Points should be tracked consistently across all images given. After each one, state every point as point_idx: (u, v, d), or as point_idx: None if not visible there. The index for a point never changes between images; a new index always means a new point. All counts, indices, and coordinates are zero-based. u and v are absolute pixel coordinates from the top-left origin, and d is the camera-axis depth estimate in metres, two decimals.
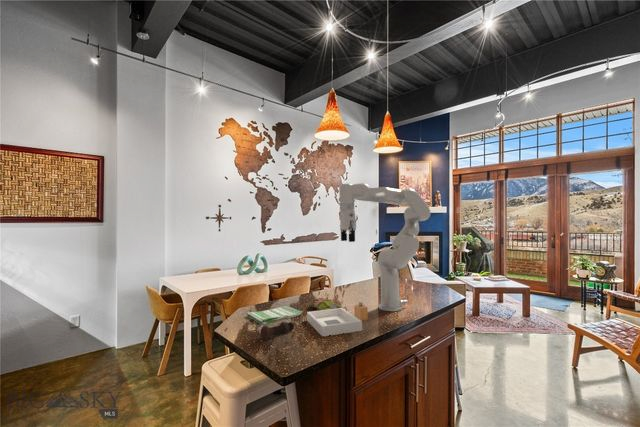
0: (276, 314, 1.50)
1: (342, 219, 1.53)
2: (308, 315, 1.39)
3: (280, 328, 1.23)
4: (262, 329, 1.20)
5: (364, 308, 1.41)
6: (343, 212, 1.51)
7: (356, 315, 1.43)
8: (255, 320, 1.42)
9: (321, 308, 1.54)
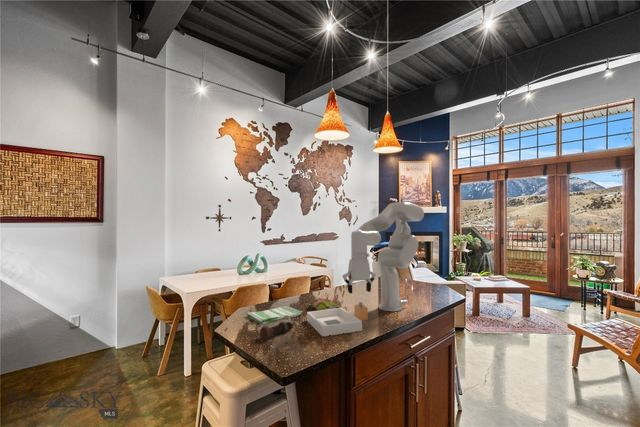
0: (276, 314, 1.50)
1: (360, 269, 1.41)
2: (308, 315, 1.39)
3: (279, 328, 1.24)
4: (262, 329, 1.20)
5: (364, 308, 1.41)
6: (363, 261, 1.42)
7: (356, 315, 1.43)
8: (255, 320, 1.42)
9: (320, 308, 1.53)
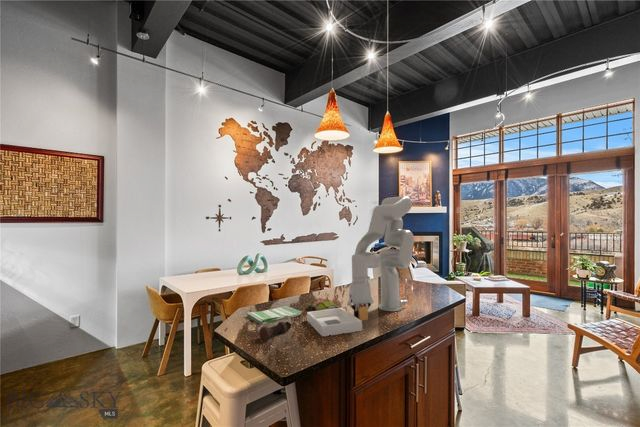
0: (276, 314, 1.50)
1: (361, 293, 1.41)
2: (308, 315, 1.39)
3: (278, 328, 1.24)
4: (261, 330, 1.19)
5: (364, 308, 1.40)
6: (364, 285, 1.42)
7: None
8: (255, 320, 1.42)
9: (319, 308, 1.53)
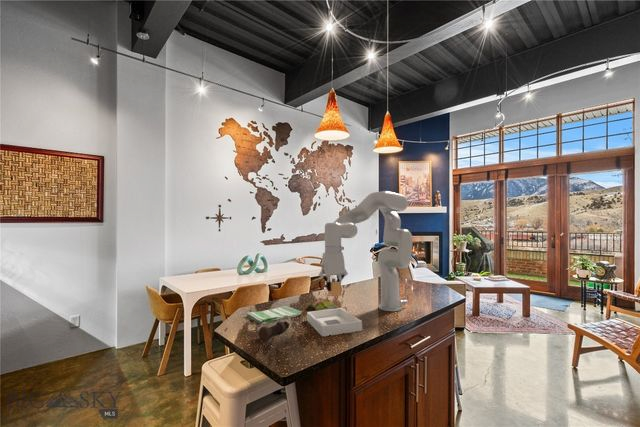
0: (276, 314, 1.50)
1: (334, 263, 1.33)
2: (308, 315, 1.39)
3: (277, 328, 1.24)
4: (261, 330, 1.19)
5: (337, 283, 1.32)
6: (337, 255, 1.34)
7: (329, 292, 1.34)
8: (255, 320, 1.42)
9: (319, 308, 1.53)
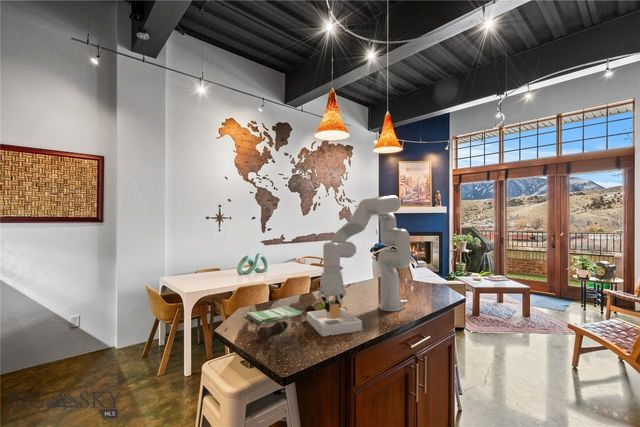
0: (276, 314, 1.50)
1: (332, 283, 1.32)
2: (308, 315, 1.39)
3: (276, 327, 1.24)
4: (260, 330, 1.19)
5: (335, 305, 1.32)
6: (335, 275, 1.33)
7: (328, 315, 1.33)
8: (254, 320, 1.42)
9: (318, 309, 1.53)
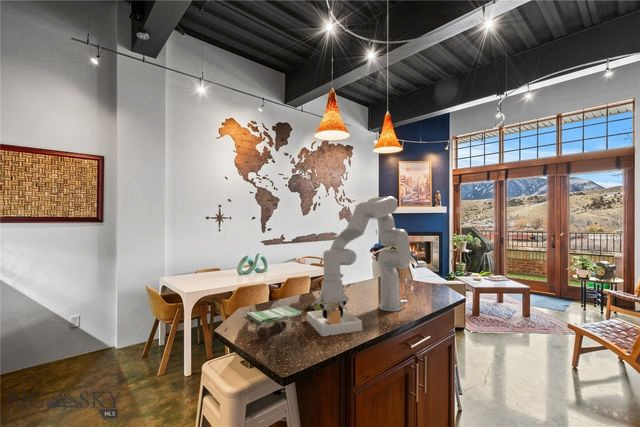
0: (276, 314, 1.50)
1: (333, 291, 1.32)
2: (308, 315, 1.39)
3: (276, 327, 1.24)
4: (260, 330, 1.19)
5: (337, 312, 1.30)
6: (336, 283, 1.33)
7: (329, 320, 1.33)
8: (254, 320, 1.42)
9: (317, 309, 1.53)
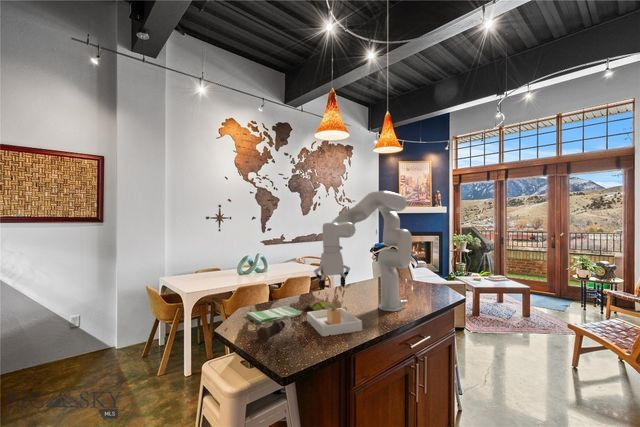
0: (275, 314, 1.50)
1: (332, 263, 1.33)
2: (308, 315, 1.39)
3: (275, 327, 1.24)
4: (260, 330, 1.19)
5: (337, 312, 1.30)
6: (335, 255, 1.33)
7: (329, 320, 1.33)
8: (254, 320, 1.42)
9: (316, 309, 1.53)
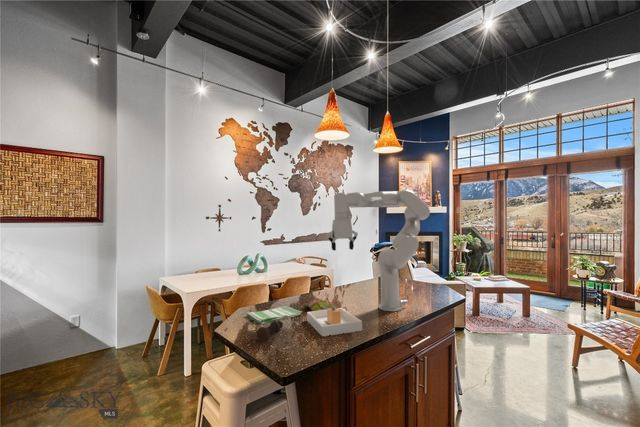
0: (275, 314, 1.50)
1: (343, 228, 1.51)
2: (308, 315, 1.39)
3: (274, 327, 1.24)
4: (259, 330, 1.18)
5: (337, 312, 1.30)
6: (345, 221, 1.52)
7: (329, 320, 1.33)
8: (254, 320, 1.42)
9: (314, 309, 1.53)
